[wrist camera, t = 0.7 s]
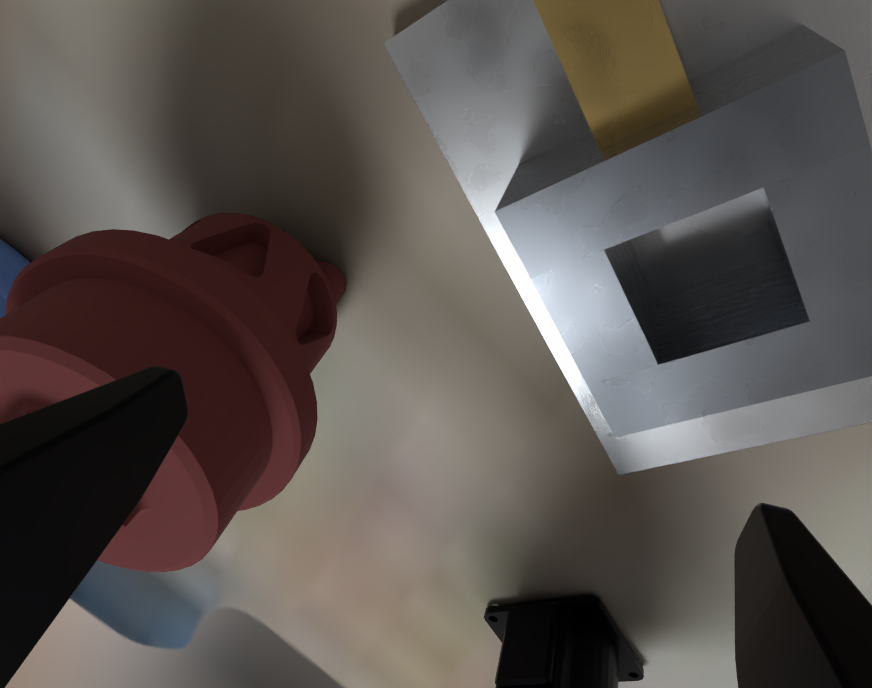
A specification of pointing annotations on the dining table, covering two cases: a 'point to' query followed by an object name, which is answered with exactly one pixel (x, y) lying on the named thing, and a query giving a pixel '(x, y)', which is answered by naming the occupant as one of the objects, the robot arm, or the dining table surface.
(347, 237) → the dining table surface
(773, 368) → the square socket plate
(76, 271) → the mechanical component
